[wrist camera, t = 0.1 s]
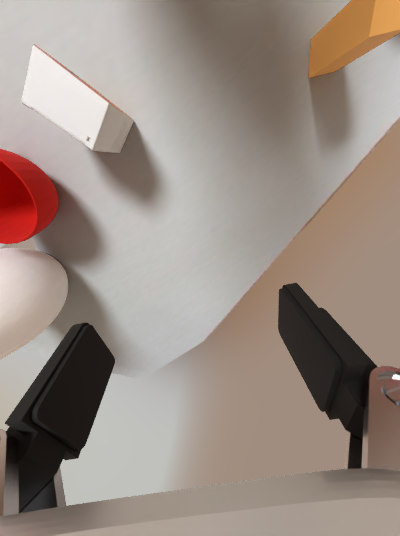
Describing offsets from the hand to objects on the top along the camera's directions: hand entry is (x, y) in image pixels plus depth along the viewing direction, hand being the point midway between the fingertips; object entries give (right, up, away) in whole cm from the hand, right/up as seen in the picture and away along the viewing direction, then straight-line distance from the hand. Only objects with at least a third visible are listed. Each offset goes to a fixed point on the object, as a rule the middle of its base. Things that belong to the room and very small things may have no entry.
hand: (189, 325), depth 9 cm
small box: (-15, +26, +20) cm, 36 cm away
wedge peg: (+18, +34, +18) cm, 42 cm away
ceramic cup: (-29, +19, +24) cm, 42 cm away
